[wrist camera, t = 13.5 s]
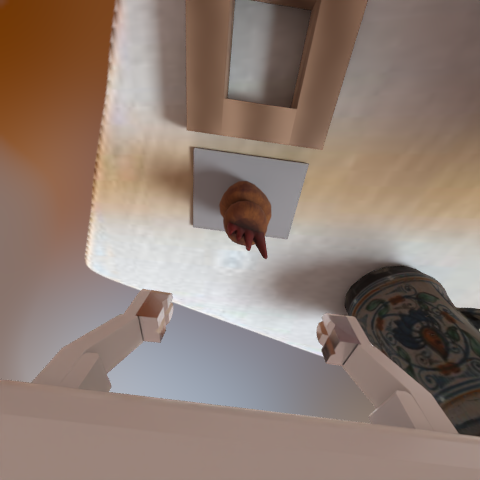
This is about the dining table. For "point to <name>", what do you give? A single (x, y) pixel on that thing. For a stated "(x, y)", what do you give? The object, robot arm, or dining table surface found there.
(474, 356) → the beer stein
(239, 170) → the slate mat
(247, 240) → the wooden figurine
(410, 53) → the dining table surface
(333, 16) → the walnut socket block
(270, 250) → the dining table surface
